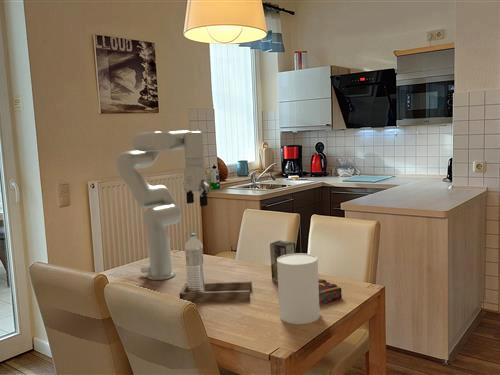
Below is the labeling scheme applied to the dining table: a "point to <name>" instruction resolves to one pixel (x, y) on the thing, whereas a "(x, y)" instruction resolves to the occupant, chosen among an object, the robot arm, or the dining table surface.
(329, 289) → the decorative book
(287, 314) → the canister
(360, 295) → the dining table surface
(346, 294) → the dining table surface
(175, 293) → the dining table surface
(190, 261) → the water bottle
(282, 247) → the coffee box
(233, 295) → the bottle rest
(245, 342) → the dining table surface
